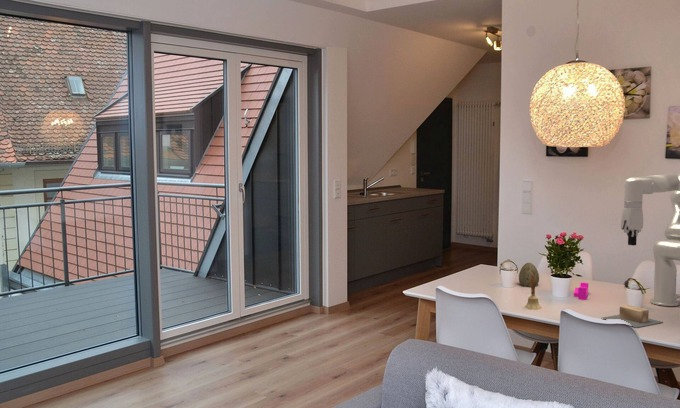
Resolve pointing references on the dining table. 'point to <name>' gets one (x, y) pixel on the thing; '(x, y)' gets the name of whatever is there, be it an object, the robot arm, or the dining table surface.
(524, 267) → the decorative egg
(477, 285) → the dining table surface
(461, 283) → the dining table surface
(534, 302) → the hand bell
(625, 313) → the oak block
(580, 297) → the toy block
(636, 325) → the mat
